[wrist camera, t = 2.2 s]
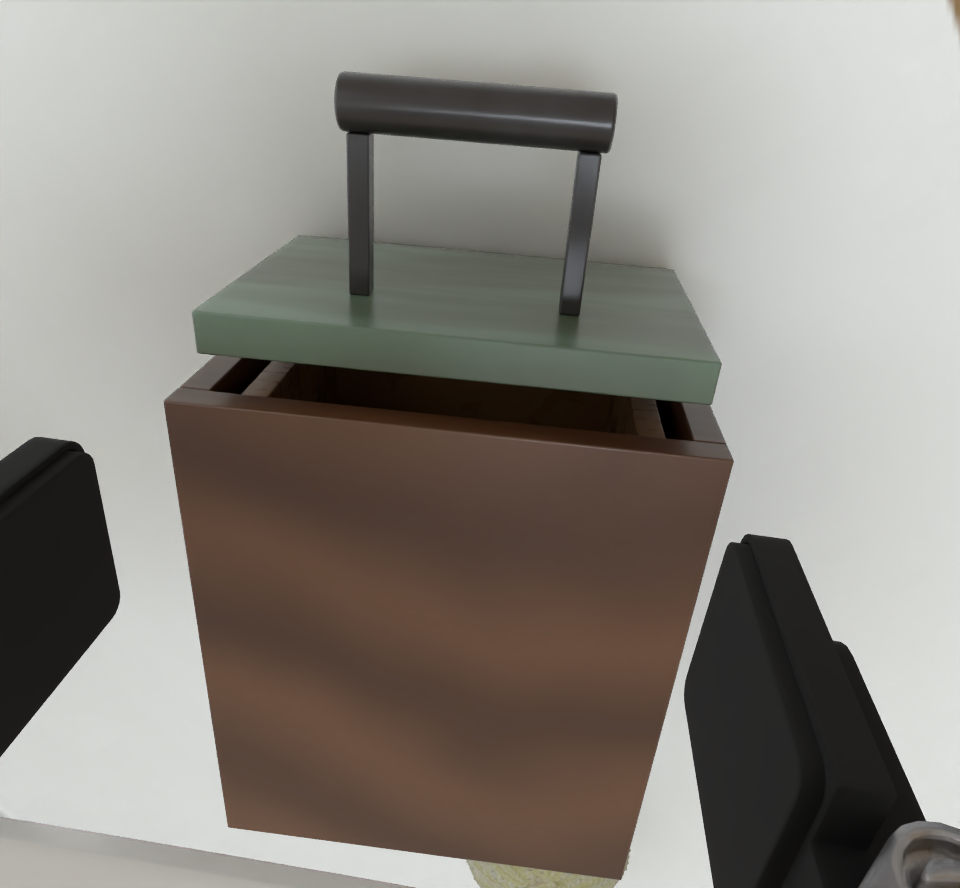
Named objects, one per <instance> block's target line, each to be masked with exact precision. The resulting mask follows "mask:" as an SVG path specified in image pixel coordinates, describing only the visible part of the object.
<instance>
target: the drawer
mask: <svg viewBox="0 0 960 888" xmlns="http://www.w3.org/2000/svg"><path fill="white" fill-rule="evenodd" d="M334 104H335V115H336V120H337V124H338V126H339V128H340V129H341V130H342V131H346V132H349V133H347V135H346V136H347V194H348V240H347V239H336V238H325V237H315V236H304V235H298V236H297V237H295V238H294V239H293V240H291V241H290V242H288V243H287V244H286V245H284V246H283V247H281V248H280V249H279V250H277V251H276V252H274V253H273V254H272V255H270V256H269V257H267V258H266V259H265V260H263V261H262V262H260V263H259V264H258V265H256V266H255V267H253V268H252V269H251V270H249V271H248V272H246V273H245V274H244V275H242V276H241V277H239V278H238V279H237V280H235V281H234V282H232V283H231V284H230V285H228V286H227V287H225V288H224V289H223V290H221V291H220V292H218V293H217V294H216V295H214V296H213V297H211V298H210V299H209V300H207V301H206V302H204V303H203V304H202V305H200V306H199V307H197V308H196V309H195V310H193V312H192V315H193V323H194V331H195V339H196V348H197V352H198V353H201V354H211V355H220V356H230V357H240V358H250V359H260V360H270V361H271V362H270V363H269V365H268V366H267V367H266V368H265V369H264V370H263V371H262V372H261V373H260V374H259V375H258V376H257V378H256V379H255V380H254V381H253V382H252V383H251V384H250V385H249V386H248V387H247V388H246V390H245V391H244V392H243V393H242V394H243V395H253V396H262V397H272V398H281V399H291V400H301V401H310V402H320V403H329V404H339V405H349V406H358V407H368V408H378V409H387V410H397V411H406V412H416V413H426V414H435V415H445V416H455V417H464V418H474V419H483V420H493V421H503V422H512V423H522V424H532V425H541V426H551V427H560V428H570V429H580V430H589V431H599V432H608V433H618V434H628V435H637V436H647V437H657V438H666V437H665V434H664V430H663V426H662V423H661V419H660V415H659V411H658V408H657V404H656V400H665V401H674V402H684V403H694V404H704V405H711V404H712V402H713V398H714V394H715V390H716V385H717V381H718V377H719V373H720V369H721V361H720V359H719V358H718V356H717V354H716V352H715V350H714V348H713V346H712V344H711V342H710V340H709V338H708V336H707V334H706V332H705V330H704V328H703V326H702V324H701V322H700V320H699V319H698V317H697V315H696V313H695V311H694V309H693V307H692V305H691V303H690V301H689V299H688V297H687V295H686V293H685V291H684V289H683V287H682V285H681V283H680V282H679V280H678V278H677V276H676V274H675V272H674V270H672V269H662V268H651V267H640V266H629V265H618V264H608V263H597V262H587V259H588V252H589V244H590V237H591V230H592V223H593V215H594V208H595V201H596V194H597V186H598V179H599V172H600V165H601V154H600V153H608V152H609V151H610V149H611V146H612V142H613V136H614V130H615V123H616V115H617V104H618V99H617V95H616V94H615V93H606V92H594V91H581V90H569V89H556V88H544V87H531V86H519V85H506V84H494V83H481V82H469V81H457V80H444V79H432V78H419V77H407V76H394V75H382V74H369V73H357V72H341V73H340V74H339V75H338V78H337V81H336V86H335V96H334ZM373 134H382V135H393V136H405V137H417V138H429V139H441V140H453V141H464V142H476V143H488V144H500V145H512V146H524V147H535V148H547V149H559V150H571V151H578V154H577V162H576V170H575V178H574V186H573V195H572V203H571V211H570V219H569V227H568V235H567V243H566V251H565V260H564V259H553V258H542V257H532V256H521V255H510V254H499V253H488V252H477V251H466V250H456V249H445V248H434V247H423V246H412V245H401V244H391V243H380V242H374V135H373Z"/></svg>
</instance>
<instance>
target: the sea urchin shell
mask: <svg viewBox="0 0 960 888" xmlns="http://www.w3.org/2000/svg"><path fill="white" fill-rule="evenodd" d="M630 851H631V850H630V849H629V852H630ZM628 859H629V853H628V857H627V861H626V864H625V868H624V871H625V870H627V865H628V864H629V863H628ZM466 860H467V859H466ZM467 863H468V865H469V867H470V870H471V872H472V874H473V876H474V880H476V882H477V883H478V885H479V886H480V888H613V887H614V886H615V885H616V883H617V882H618V881H619V880H615V879H608V878H600V877H593V876H585V875H578V874H571V873H563V872H556V871H548V870H541V869H534V868H526V867H519V866H511V865H504V864H497V863H489V862H482V861H474V860H467ZM623 875H624V872H623Z"/></svg>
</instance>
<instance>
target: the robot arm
mask: <svg viewBox="0 0 960 888" xmlns="http://www.w3.org/2000/svg"><path fill="white" fill-rule="evenodd" d="M119 602H120V590H119V585H118V580H117V575H116V570H115V565H114V560H113V555H112V550H111V545H110V540H109V535H108V530H107V525H106V520H105V514H104V509H103V504H102V499H101V494H100V489H99V484H98V479H97V474H96V469H95V464H94V461H93V458H92V457H91V456H90V455H89V454H87V453H85V452H84V449H83V448H82V447H81V445H80V444H78V443H76V442H73V441H66V440H58V439H51V438H44V437H34V438H32V439H30V440H28V441H27V442H26V443H24V444H23V445H21V446H20V447H19V448H17V449H16V450H15V451H13V452H12V453H10V454H9V455H8V456H6V457H5V458H4V459H2V460H1V461H0V757H1V755H2V754H3V753H4V752H5V750H6V749H7V748H8V747H9V746H10V744H11V743H12V742H13V741H14V739H15V738H16V737H17V736H18V734H19V733H20V732H21V731H22V729H23V728H24V727H25V726H26V724H27V723H28V722H29V721H30V720H31V718H32V717H33V716H34V715H35V713H36V712H37V711H38V710H39V708H40V707H41V706H42V705H43V703H44V702H45V701H46V700H47V698H48V697H49V696H50V695H51V694H52V692H53V691H54V690H55V689H56V687H57V686H58V685H59V684H60V682H61V681H62V680H63V679H64V677H65V676H66V675H67V674H68V672H69V671H70V670H71V669H72V668H73V666H74V665H75V664H76V663H77V661H78V660H79V659H80V658H81V656H82V655H83V654H84V653H85V651H86V650H87V649H88V648H89V646H90V645H91V644H92V643H93V642H94V640H95V639H96V638H97V637H98V635H99V634H100V633H101V632H102V630H103V629H104V628H105V627H106V625H107V624H108V623H109V622H110V620H111V619H112V618H113V616H114V615H115V613H116V611H117V609H118V605H119ZM684 702H685V709H686V716H687V722H688V728H689V735H690V741H691V747H692V753H693V760H694V766H695V772H696V779H697V785H698V791H699V798H700V804H701V810H702V816H703V823H704V829H705V835H706V842H707V848H708V854H709V861H710V867H711V873H712V879H713V886H714V888H960V829H957V828H954V827H951V826H948V825H945V824H943V823H938V822H926V820H925V818H924V815H923V813H922V811H921V809H920V806H919V804H918V802H917V800H916V797H915V795H914V793H913V791H912V788H911V786H910V784H909V782H908V779H907V777H906V775H905V772H904V770H903V768H902V766H901V763H900V761H899V759H898V757H897V754H896V752H895V750H894V748H893V745H892V743H891V741H890V739H889V736H888V734H887V732H886V730H885V727H884V725H883V723H882V721H881V718H880V716H879V714H878V712H877V709H876V707H875V705H874V703H873V700H872V698H871V696H870V694H869V691H868V689H867V687H866V685H865V682H864V680H863V678H862V676H861V673H860V671H859V669H858V667H857V664H856V662H855V660H854V658H853V655H852V654H851V652H850V651H849V649H848V647H847V646H846V645H844V644H843V643H841V642H838V641H833V640H832V638H831V636H830V633H829V631H828V628H827V626H826V624H825V621H824V619H823V617H822V614H821V612H820V610H819V607H818V605H817V602H816V600H815V598H814V595H813V593H812V591H811V588H810V586H809V583H808V581H807V579H806V576H805V574H804V572H803V569H802V567H801V564H800V562H799V560H798V557H797V555H796V553H795V550H794V548H793V546H792V544H791V542H790V541H789V540H787V539H780V538H773V537H766V536H758V535H751V534H747V535H745V536H744V537H743V539H742V540H741V543H734V542H731V543H729V545H728V546H727V548H726V551H725V554H724V557H723V561H722V564H721V567H720V570H719V574H718V577H717V580H716V583H715V586H714V590H713V593H712V596H711V599H710V603H709V606H708V609H707V612H706V615H705V619H704V622H703V625H702V628H701V632H700V635H699V638H698V641H697V644H696V648H695V651H694V654H693V657H692V661H691V664H690V667H689V670H688V673H687V677H686V681H685V690H684ZM0 888H414V887H409V886H403V885H397V884H392V883H386V882H380V881H375V880H369V879H364V878H358V877H352V876H347V875H341V874H335V873H329V872H323V871H318V870H312V869H306V868H300V867H294V866H289V865H283V864H277V863H271V862H265V861H259V860H254V859H248V858H242V857H236V856H230V855H224V854H219V853H213V852H207V851H201V850H195V849H189V848H183V847H178V846H172V845H166V844H160V843H154V842H148V841H142V840H136V839H130V838H125V837H119V836H113V835H107V834H101V833H95V832H89V831H83V830H77V829H71V828H65V827H59V826H53V825H47V824H41V823H35V822H29V821H23V820H16V819H10V818H4V817H0Z"/></svg>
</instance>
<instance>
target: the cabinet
mask: <svg viewBox="0 0 960 888" xmlns="http://www.w3.org/2000/svg"><path fill="white" fill-rule="evenodd" d="M270 362H271V361H270V360H260V359H250V358H240V357H230V356H220V355H215V356H214V357H213V358H212V359H211V360H210V361H209V362H208V363H206V364H205V365H204V366H203V367H202V368H201V369H200V370H199V371H197V372H196V373H195V374H194V375H193V376H192V377H191V378H190V379H188V380H187V381H186V382H185V383H184V384H183V385H182V386H181V387H180V388H178V389H177V390H176V391H174V392H173V393H172V394H171V395H170V396H169V397H168V398H167V399H165V400H164V408H165V414H166V421H167V427H168V434H169V441H170V447H171V454H172V460H173V467H174V474H175V480H176V487H177V493H178V500H179V507H180V513H181V520H182V526H183V533H184V539H185V546H186V553H187V559H188V566H189V572H190V579H191V586H192V592H193V599H194V605H195V612H196V619H197V625H198V632H199V638H200V645H201V652H202V658H203V665H204V671H205V678H206V685H207V691H208V698H209V704H210V711H211V718H212V724H213V731H214V737H215V744H216V751H217V757H218V764H219V770H220V777H221V783H222V790H223V797H224V803H225V810H226V816H227V823H228V827H230V828H237V829H245V830H252V831H260V832H267V833H274V834H282V835H289V836H297V837H304V838H311V839H319V840H326V841H334V842H341V843H349V844H356V845H363V846H371V847H378V848H386V849H393V850H400V851H408V852H415V853H423V854H430V855H437V856H445V857H452V858H460V859H467V860H474V861H482V862H489V863H497V864H504V865H511V866H519V867H526V868H534V869H541V870H548V871H556V872H563V873H571V874H578V875H585V876H593V877H600V878H608V879H615V880H621V879H622V876H623V872H624V868H625V864H626V861H627V857H628V853H629V849H630V846H631V842H632V838H633V835H634V831H635V827H636V823H637V820H638V816H639V812H640V808H641V805H642V801H643V797H644V794H645V790H646V786H647V782H648V779H649V775H650V771H651V767H652V764H653V760H654V756H655V753H656V749H657V745H658V741H659V738H660V734H661V730H662V726H663V723H664V719H665V715H666V712H667V708H668V704H669V700H670V697H671V693H672V689H673V685H674V682H675V678H676V674H677V671H678V667H679V663H680V659H681V656H682V652H683V648H684V644H685V641H686V637H687V633H688V630H689V626H690V622H691V618H692V615H693V611H694V607H695V603H696V600H697V596H698V592H699V589H700V585H701V581H702V577H703V574H704V570H705V566H706V562H707V559H708V555H709V551H710V548H711V544H712V540H713V536H714V533H715V529H716V525H717V521H718V518H719V514H720V510H721V507H722V503H723V499H724V495H725V492H726V488H727V484H728V480H729V477H730V473H731V469H732V466H733V459H732V456H731V454H730V451H729V449H728V447H727V445H726V442H725V440H724V438H723V435H722V433H721V430H720V428H719V426H718V423H717V421H716V418H715V416H714V414H713V411H712V409H711V407H710V405H704V404H694V403H684V402H674V401H665V400H656V404H657V408H658V411H659V415H660V419H661V423H662V426H663V430H664V434H665V437H666V438H657V437H647V436H637V435H628V434H618V433H608V432H599V431H589V430H580V429H570V428H560V427H551V426H541V425H532V424H522V423H512V422H503V421H493V420H483V419H474V418H464V417H455V416H445V415H435V414H426V413H416V412H406V411H397V410H387V409H378V408H368V407H358V406H349V405H339V404H329V403H320V402H310V401H301V400H291V399H281V398H272V397H262V396H253V395H243V394H242V393H243V392H244V391H245V390H246V388H247V387H248V386H249V385H250V384H251V383H252V382H253V381H254V380H255V379H256V378H257V376H258V375H259V374H260V373H261V372H262V371H263V370H264V369H265V368H266V367H267V366H268V365H269V363H270Z"/></svg>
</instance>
